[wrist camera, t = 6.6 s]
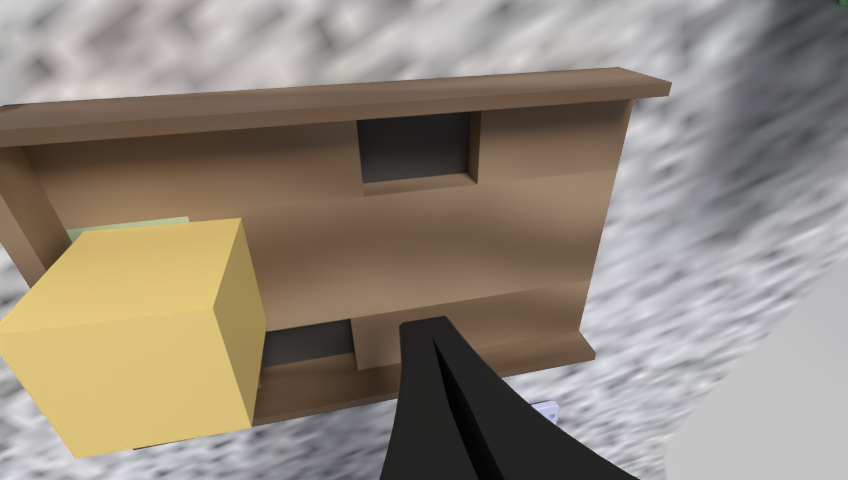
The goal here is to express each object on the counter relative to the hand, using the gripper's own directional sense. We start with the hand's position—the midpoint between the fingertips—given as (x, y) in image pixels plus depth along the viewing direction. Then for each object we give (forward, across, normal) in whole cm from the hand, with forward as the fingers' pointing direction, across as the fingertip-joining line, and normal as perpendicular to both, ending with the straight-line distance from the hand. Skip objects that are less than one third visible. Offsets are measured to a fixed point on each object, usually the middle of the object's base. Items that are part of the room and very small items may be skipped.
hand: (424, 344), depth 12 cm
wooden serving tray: (+6, +1, 0) cm, 6 cm away
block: (+4, +7, 0) cm, 9 cm away
